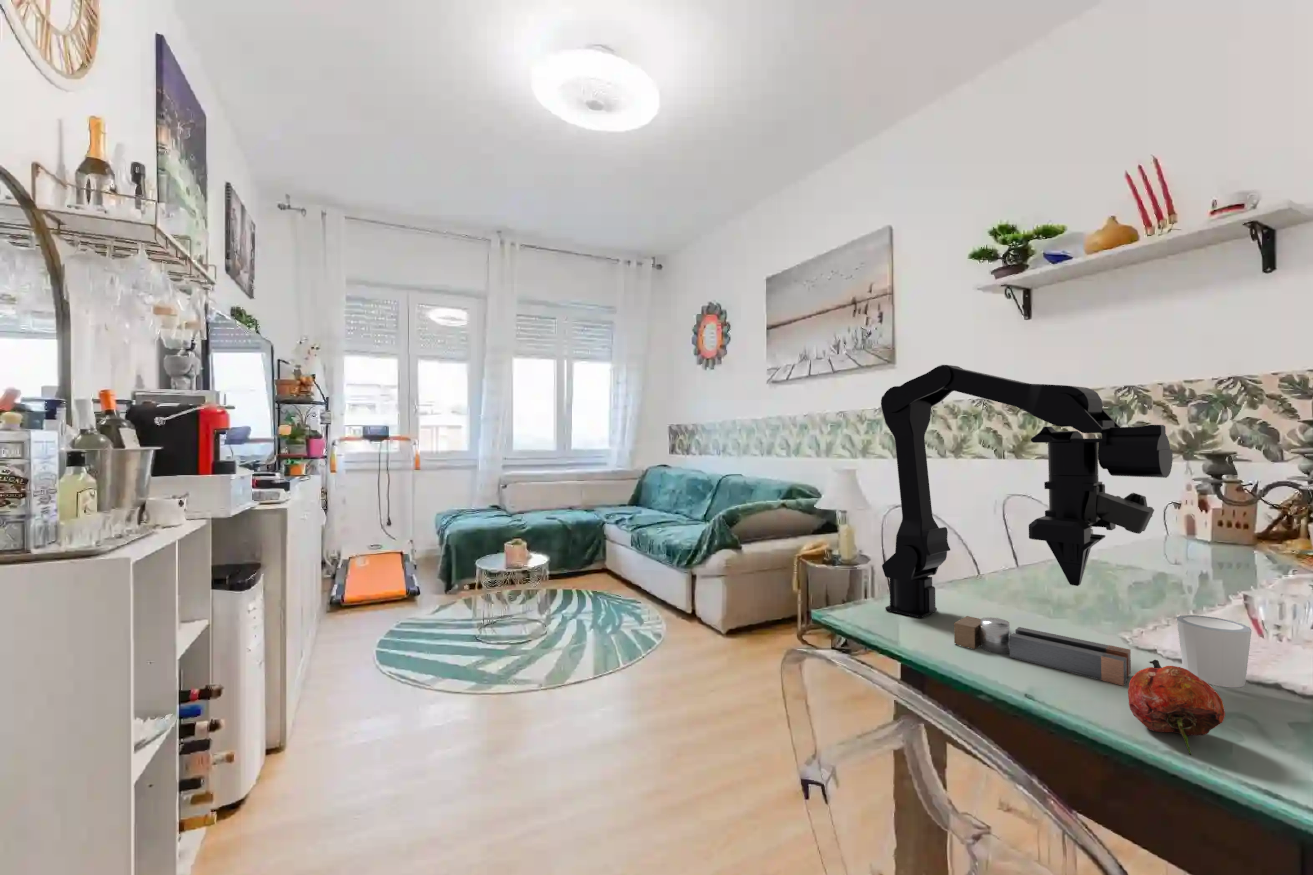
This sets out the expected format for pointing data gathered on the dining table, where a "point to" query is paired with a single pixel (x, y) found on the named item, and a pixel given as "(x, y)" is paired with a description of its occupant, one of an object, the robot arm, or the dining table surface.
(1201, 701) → the wrinkled red fruit
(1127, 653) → the bar
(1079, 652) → the frame
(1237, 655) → the white cup
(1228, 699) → the dining table surface
